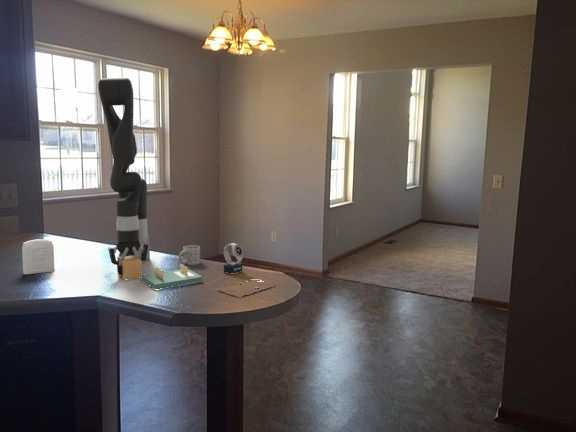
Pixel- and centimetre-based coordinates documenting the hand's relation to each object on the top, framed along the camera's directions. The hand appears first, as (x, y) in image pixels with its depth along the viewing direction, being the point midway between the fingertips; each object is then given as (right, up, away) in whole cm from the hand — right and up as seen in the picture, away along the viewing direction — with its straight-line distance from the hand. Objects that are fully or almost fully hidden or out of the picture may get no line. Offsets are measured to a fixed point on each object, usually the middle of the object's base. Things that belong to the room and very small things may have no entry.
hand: (129, 273), depth 173 cm
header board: (+17, -2, -6) cm, 18 cm away
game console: (+44, -4, -12) cm, 46 cm away
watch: (+37, -1, +7) cm, 38 cm away
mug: (+18, +1, +18) cm, 25 cm away
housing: (0, -1, 0) cm, 1 cm away
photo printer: (-34, 0, +3) cm, 34 cm away
